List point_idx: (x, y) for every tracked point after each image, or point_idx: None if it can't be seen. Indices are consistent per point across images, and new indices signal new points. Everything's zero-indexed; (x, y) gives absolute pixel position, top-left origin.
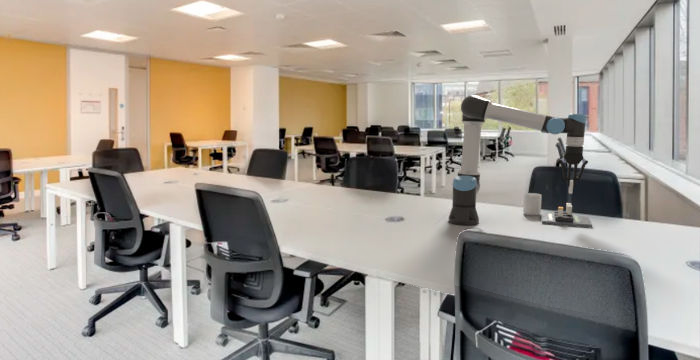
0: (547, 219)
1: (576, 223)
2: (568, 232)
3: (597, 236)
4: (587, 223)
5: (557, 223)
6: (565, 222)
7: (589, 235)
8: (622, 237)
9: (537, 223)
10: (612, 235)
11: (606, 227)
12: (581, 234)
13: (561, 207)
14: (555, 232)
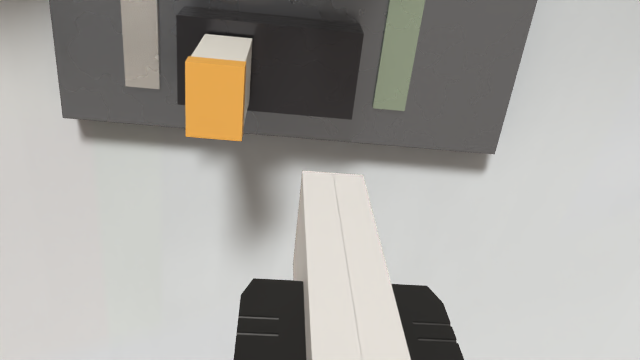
0: (109, 45)
1: (368, 142)
2: None
3: None
4: (469, 116)
5: None
6: (275, 130)
7: None
8: (586, 339)
9: (33, 109)
10: (545, 312)
11: (619, 93)
12: None
13: (222, 97)
14: (186, 337)
